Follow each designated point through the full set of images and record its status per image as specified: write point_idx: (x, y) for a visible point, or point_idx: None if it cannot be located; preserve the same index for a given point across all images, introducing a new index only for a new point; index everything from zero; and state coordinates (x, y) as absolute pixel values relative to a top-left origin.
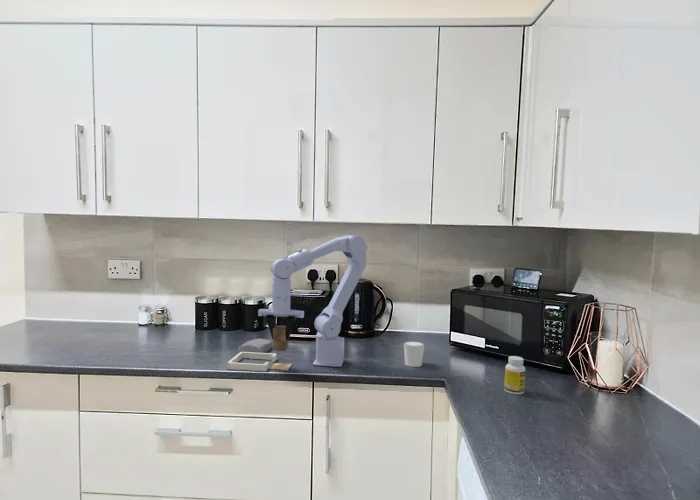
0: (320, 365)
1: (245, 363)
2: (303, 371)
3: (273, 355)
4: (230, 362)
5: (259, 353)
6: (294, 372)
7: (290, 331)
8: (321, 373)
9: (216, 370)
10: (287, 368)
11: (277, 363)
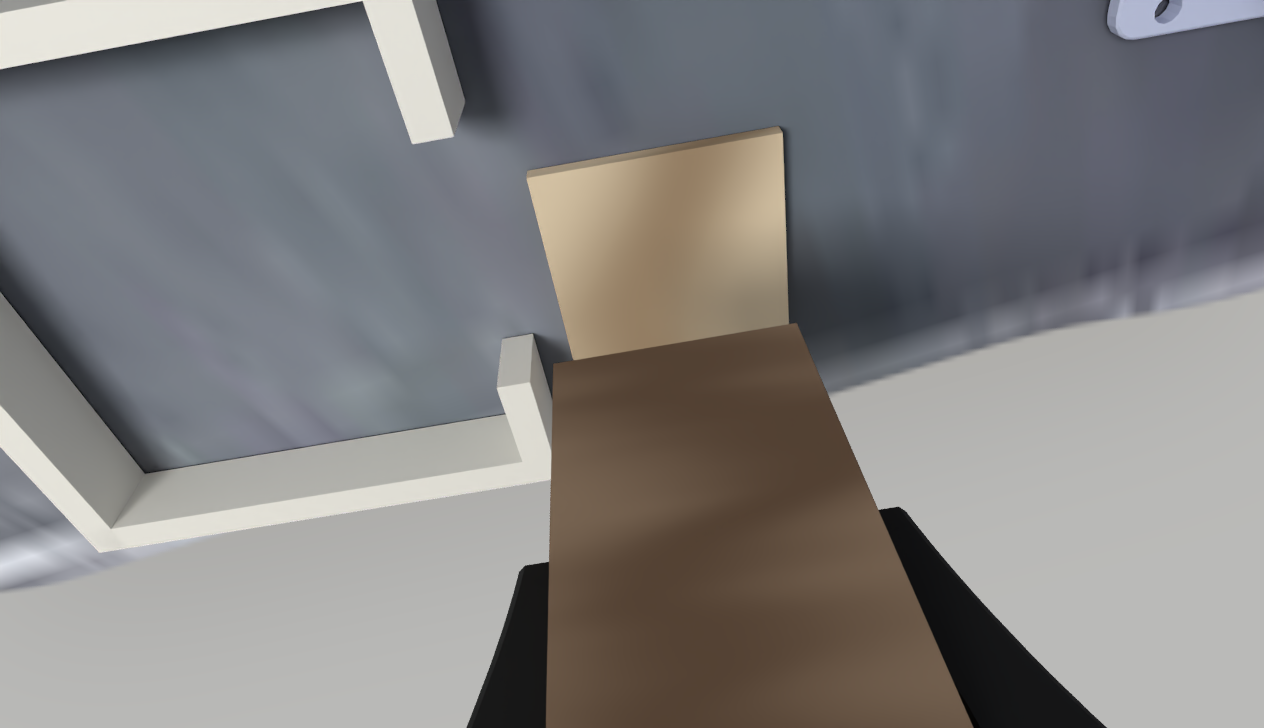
0: (1233, 17)
1: (303, 505)
2: (977, 287)
3: (405, 77)
4: (118, 531)
5: (76, 54)
6: (877, 347)
7: (1002, 654)
8: (1198, 276)
9: (80, 546)
10: (777, 312)
11: (569, 187)
